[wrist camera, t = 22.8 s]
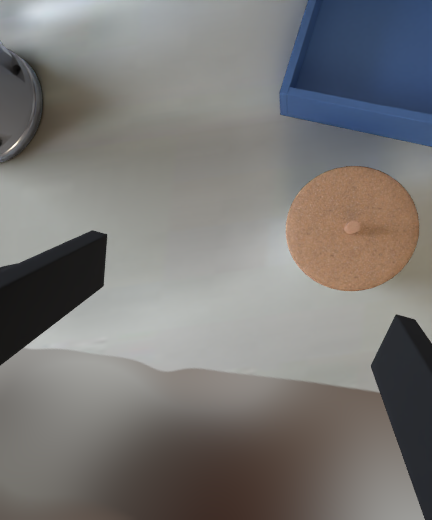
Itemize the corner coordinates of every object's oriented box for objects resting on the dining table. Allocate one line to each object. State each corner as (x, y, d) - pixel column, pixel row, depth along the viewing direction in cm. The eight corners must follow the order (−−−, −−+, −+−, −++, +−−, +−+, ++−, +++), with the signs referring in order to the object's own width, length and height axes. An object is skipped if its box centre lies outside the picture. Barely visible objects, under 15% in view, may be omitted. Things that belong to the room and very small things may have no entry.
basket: (280, 114, 36) (279, 93, 31) (329, -45, 35) (336, -92, 30) (470, 155, 32) (502, 137, 27) (534, -24, 31) (578, -74, 26)
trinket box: (266, 238, 37) (258, 232, 27) (333, 165, 35) (349, 132, 26) (339, 304, 35) (357, 321, 26) (413, 230, 33) (461, 220, 24)
